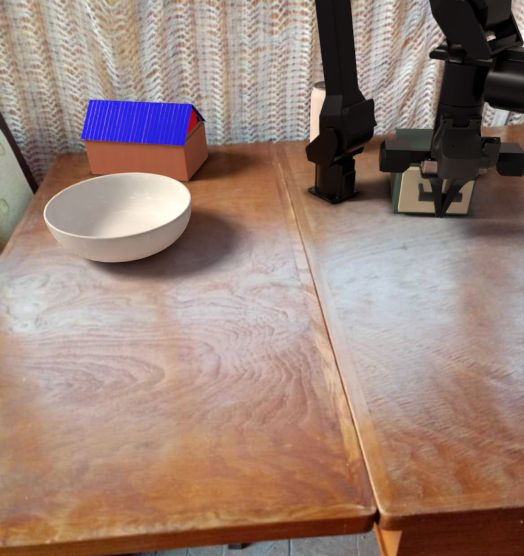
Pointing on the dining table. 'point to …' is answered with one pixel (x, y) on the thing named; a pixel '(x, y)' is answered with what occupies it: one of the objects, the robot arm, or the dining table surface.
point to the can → (316, 108)
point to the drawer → (428, 194)
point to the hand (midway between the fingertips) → (438, 217)
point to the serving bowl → (119, 216)
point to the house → (144, 138)
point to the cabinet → (414, 164)
